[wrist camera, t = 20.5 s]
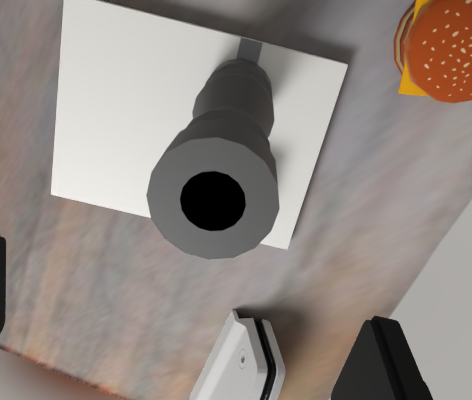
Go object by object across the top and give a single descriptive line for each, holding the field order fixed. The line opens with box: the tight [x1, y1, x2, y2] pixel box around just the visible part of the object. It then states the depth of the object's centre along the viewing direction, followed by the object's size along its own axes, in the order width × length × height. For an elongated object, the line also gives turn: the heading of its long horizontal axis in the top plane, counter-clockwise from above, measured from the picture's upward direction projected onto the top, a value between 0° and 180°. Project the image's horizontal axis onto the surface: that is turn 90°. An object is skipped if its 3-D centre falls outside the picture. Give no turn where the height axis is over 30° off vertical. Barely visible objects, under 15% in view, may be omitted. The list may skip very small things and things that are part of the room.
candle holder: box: [146, 58, 280, 259], centre depth 30 cm, size 6×6×25 cm
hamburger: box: [394, 0, 472, 103], centre depth 37 cm, size 9×10×7 cm
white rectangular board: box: [51, 0, 348, 249], centre depth 44 cm, size 20×26×2 cm
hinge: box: [190, 310, 285, 400], centre depth 54 cm, size 17×5×10 cm, turn 159°
